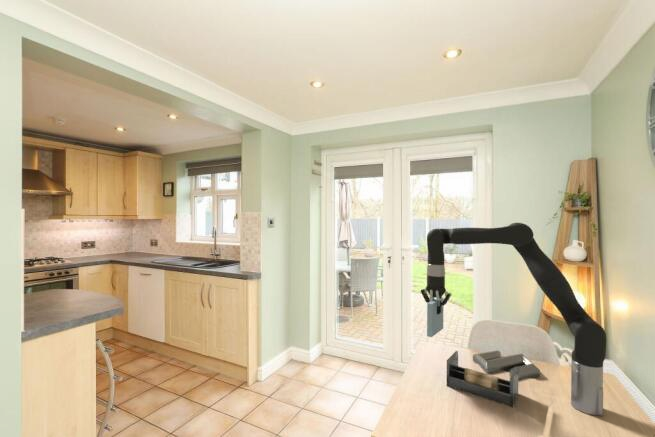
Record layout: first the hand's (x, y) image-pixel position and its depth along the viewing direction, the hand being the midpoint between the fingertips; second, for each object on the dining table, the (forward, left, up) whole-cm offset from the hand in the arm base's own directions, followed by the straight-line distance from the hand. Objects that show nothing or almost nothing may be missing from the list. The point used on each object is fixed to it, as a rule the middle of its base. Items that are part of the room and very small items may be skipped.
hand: (435, 313), depth 142 cm
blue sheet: (0, 0, -8) cm, 8 cm away
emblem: (-22, -30, -29) cm, 47 cm away
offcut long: (-19, +1, -27) cm, 33 cm away
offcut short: (-19, +4, -27) cm, 33 cm away
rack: (-19, 0, -29) cm, 34 cm away
